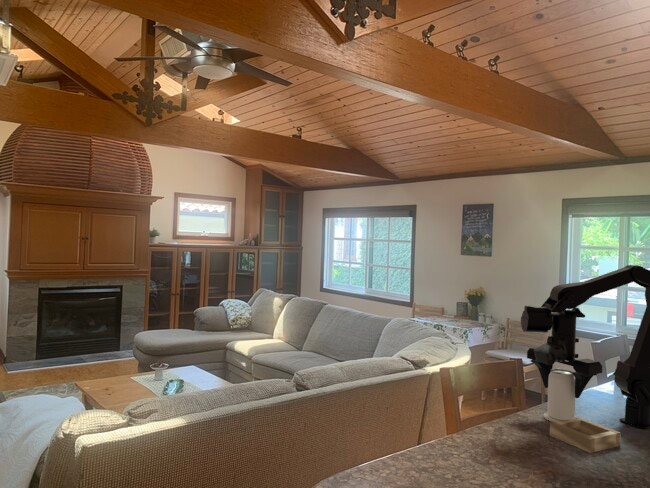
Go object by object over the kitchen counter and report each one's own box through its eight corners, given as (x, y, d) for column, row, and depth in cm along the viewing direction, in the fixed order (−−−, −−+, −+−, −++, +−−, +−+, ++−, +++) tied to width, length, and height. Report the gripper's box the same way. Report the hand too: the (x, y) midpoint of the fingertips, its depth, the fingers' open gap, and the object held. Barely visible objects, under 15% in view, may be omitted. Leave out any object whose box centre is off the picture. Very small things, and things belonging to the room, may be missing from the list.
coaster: (557, 412, 135) (557, 410, 135) (584, 422, 128) (584, 420, 128) (537, 416, 132) (537, 413, 132) (563, 426, 125) (563, 424, 125)
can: (577, 422, 126) (579, 375, 126) (550, 420, 127) (551, 373, 127) (570, 414, 132) (571, 369, 132) (544, 412, 133) (545, 367, 134)
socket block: (578, 429, 123) (579, 417, 123) (620, 445, 114) (620, 432, 114) (549, 435, 119) (550, 422, 118) (590, 452, 109) (590, 439, 109)
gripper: (513, 328, 135) (511, 385, 135) (574, 342, 118) (572, 407, 118) (542, 326, 140) (540, 381, 140) (604, 339, 123) (602, 402, 123)
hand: (561, 392), depth 130 cm, fingers open, 9 cm apart
